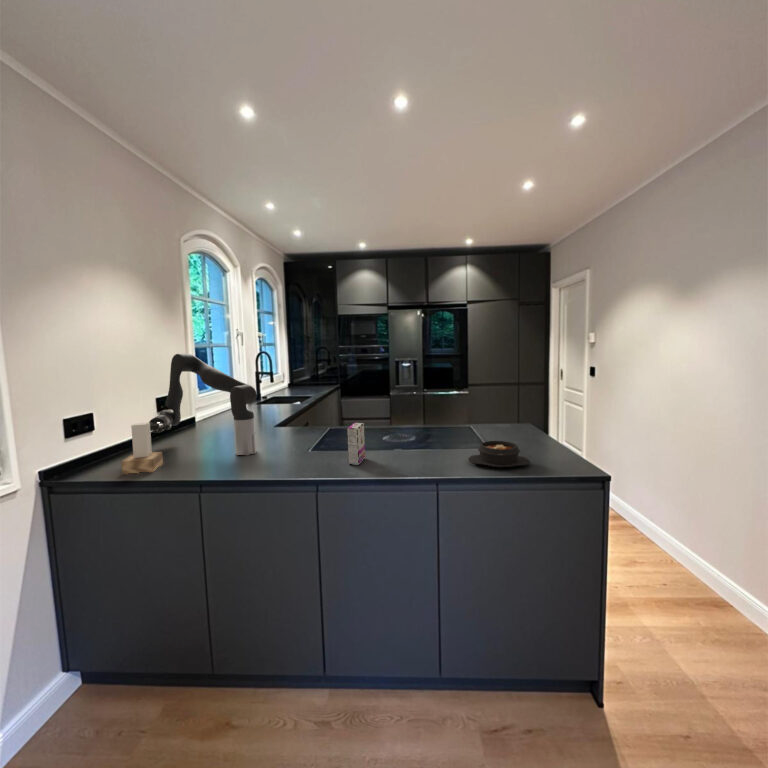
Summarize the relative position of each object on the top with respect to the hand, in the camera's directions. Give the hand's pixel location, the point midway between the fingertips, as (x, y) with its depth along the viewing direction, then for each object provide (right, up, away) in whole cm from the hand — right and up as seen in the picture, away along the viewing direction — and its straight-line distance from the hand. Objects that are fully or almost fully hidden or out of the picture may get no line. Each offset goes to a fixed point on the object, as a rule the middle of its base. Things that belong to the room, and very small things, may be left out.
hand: (148, 430), depth 182 cm
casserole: (+155, -13, -13) cm, 156 cm away
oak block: (+2, -16, -8) cm, 18 cm away
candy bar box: (+95, -14, -5) cm, 96 cm away
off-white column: (+2, -10, -8) cm, 13 cm away
